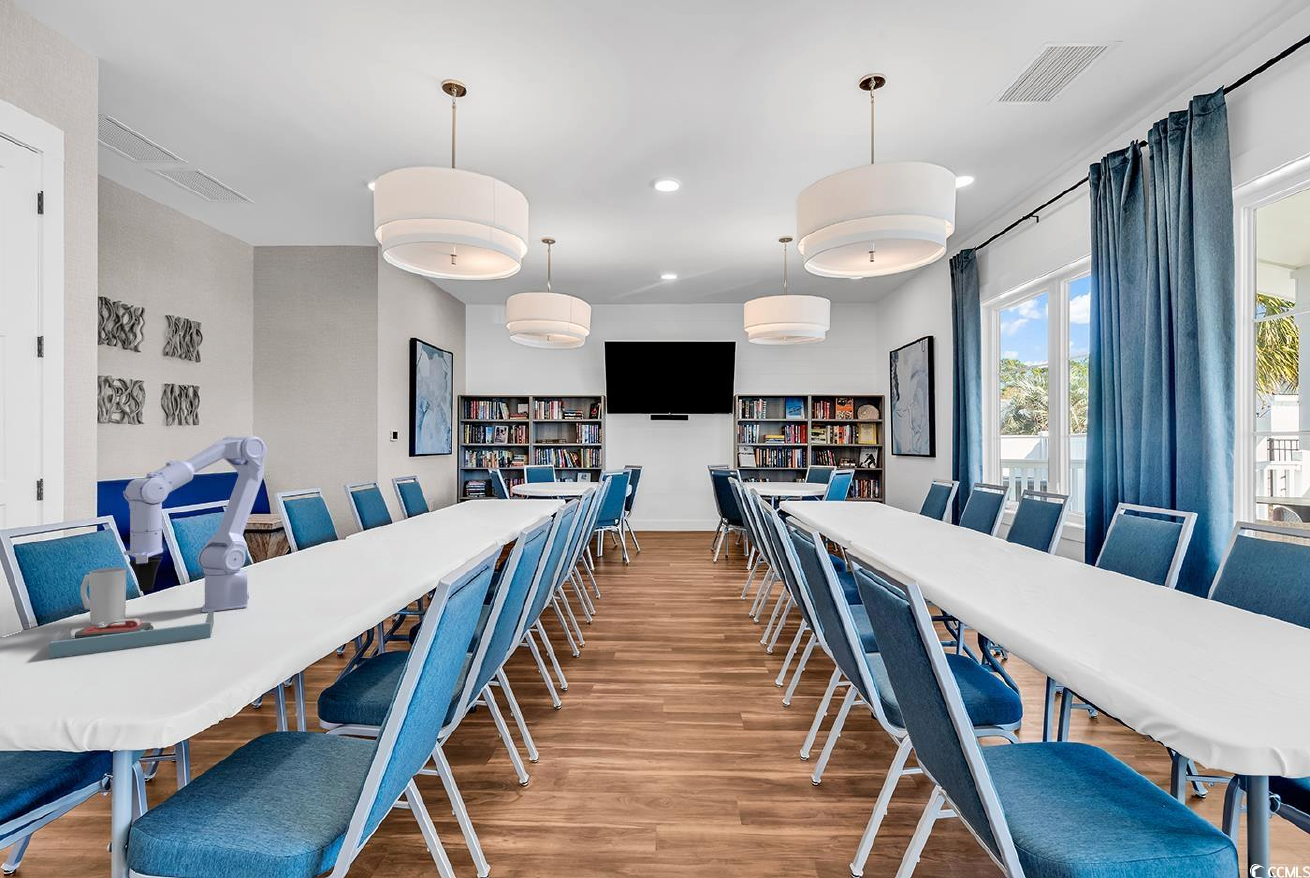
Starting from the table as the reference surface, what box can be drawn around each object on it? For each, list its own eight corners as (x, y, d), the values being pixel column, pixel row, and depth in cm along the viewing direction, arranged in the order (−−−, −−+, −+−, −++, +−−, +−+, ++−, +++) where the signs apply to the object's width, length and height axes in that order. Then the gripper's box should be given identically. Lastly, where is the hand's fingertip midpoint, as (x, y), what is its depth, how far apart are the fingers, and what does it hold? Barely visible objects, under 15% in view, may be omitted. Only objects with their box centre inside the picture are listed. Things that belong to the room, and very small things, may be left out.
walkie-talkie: (59, 652, 132) (174, 643, 137) (59, 630, 132) (174, 622, 137) (84, 639, 140) (191, 631, 146) (84, 619, 140) (191, 612, 146)
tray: (213, 623, 151) (213, 610, 151) (210, 637, 140) (210, 623, 140) (64, 642, 137) (64, 627, 137) (48, 658, 127) (48, 643, 127)
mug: (134, 617, 156) (134, 567, 156) (108, 625, 149) (108, 573, 149) (94, 617, 157) (94, 567, 157) (67, 624, 150) (67, 572, 150)
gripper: (129, 528, 153) (129, 586, 153) (118, 536, 141) (118, 599, 141) (166, 526, 157) (166, 582, 157) (159, 533, 144) (159, 594, 144)
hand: (146, 590), depth 149 cm, fingers closed
